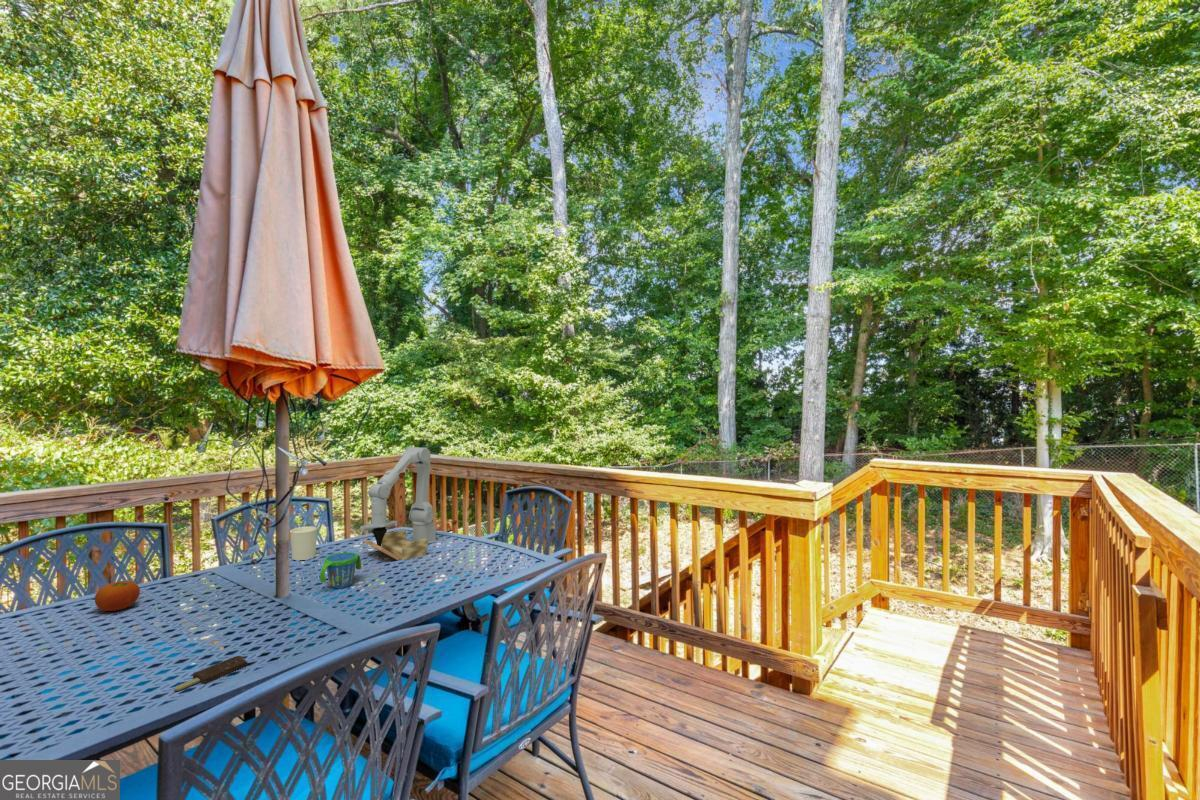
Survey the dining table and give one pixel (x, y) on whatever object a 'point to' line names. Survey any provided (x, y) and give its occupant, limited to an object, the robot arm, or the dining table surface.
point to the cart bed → (404, 545)
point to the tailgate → (381, 549)
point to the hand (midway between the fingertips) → (378, 546)
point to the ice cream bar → (215, 672)
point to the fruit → (117, 595)
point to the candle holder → (303, 542)
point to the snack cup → (340, 569)
